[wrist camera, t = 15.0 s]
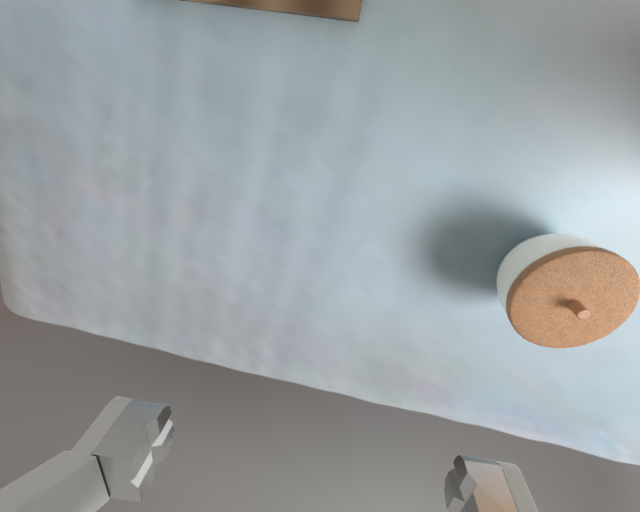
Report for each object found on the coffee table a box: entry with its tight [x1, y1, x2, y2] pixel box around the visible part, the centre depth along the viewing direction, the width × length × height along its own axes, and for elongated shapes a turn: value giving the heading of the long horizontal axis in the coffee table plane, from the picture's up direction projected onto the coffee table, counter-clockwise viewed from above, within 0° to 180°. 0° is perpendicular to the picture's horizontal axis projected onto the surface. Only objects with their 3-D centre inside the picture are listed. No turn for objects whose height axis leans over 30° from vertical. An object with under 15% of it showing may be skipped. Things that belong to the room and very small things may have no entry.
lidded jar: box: [497, 233, 640, 348], centre depth 33 cm, size 11×11×9 cm
